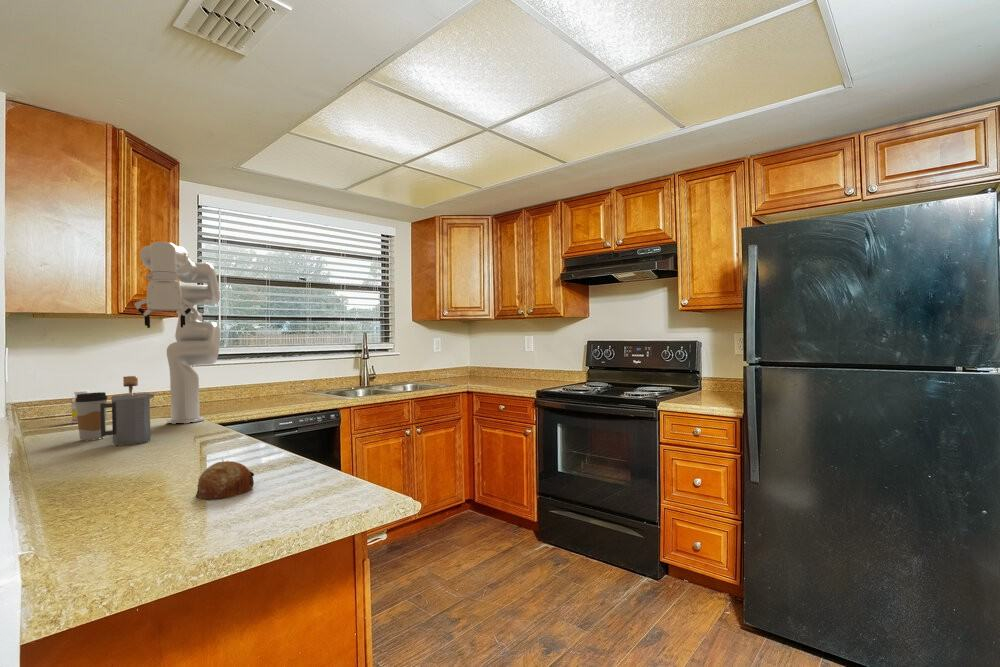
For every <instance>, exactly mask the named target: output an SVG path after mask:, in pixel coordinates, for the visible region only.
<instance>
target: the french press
mask: <svg viewBox="0 0 1000 667" xmlns="http://www.w3.org/2000/svg"><path fill="white" fill-rule="evenodd" d="M153 398H155V393H150V391H148V392H145V391H144V392H143V391H141V392H140V391H138V392H133V394H129V392H128V393H127V392H126V393H118V394H116V393H115V394H112V395H111V402H107V403H100V415H101V437H104V438H105V437H107V436H112V443H113V444H112V445H113V446H114V445H128V446H134V444H136V445H142V444H146V443H145V442H147V443H149V442H150V441H151V435H152V434H151V407H150V406H151V404H150V403H151V401H150V399H153ZM105 408H106V410H105ZM108 408H111V419H112V420H111V424H112V425H111V426H112V429H111V430H107V409H108ZM148 441H149V442H148ZM141 443H142V444H141Z"/></svg>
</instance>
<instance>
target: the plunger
mask: <svg viewBox="0 0 1000 667" xmlns="http://www.w3.org/2000/svg"><path fill="white" fill-rule="evenodd" d="M122 378H123V387H125V388H126V387H127V388H128V393H129V394H133V393H134V389H133V388H134V387H138V385H139V384H138V382H139V381H138V378H139V376H138V375H129V376H126V375H125V376H123V377H122Z"/></svg>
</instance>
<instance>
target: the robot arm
mask: <svg viewBox="0 0 1000 667" xmlns="http://www.w3.org/2000/svg"><path fill="white" fill-rule="evenodd" d="M140 260H141V262H142V264H143V265H144V267H146V268H147V269H149V270H150V273H149V274H145V279H149V280H150V281H148V282H147V290H146V298H144V299H141V300H139V301H136V302H134V303H133V304H134V307H135V308H136V310H137V311H138V312H139V313H140V314H142V316H144V326H146V328H147V329H150V328H151V316H150V314H151V313H152V312H176V313H177V315H178V316H177V317H178V319H177V324H176V328H175V335H174V338H175V341H174V342H172V343H169V345H168V346H167V348H166V357H167V362H168V367H169V378H170V379H169V381H170V384H169V386H170V387H169V388H170V415H171V416H170V417H171V418H169V419H167V420H166V424H167V423H172V424H171V425H177V424H176V423H184V424H191V423H190V422H193V423H198V422H202V421H204V420H205V417H204V416H202V415H201V413H200V412H201V410H200V384H199V383H200V382H199V380H200V378H199V374H198V373H197V371H196V370H195V369H194V368H193V367H192V366H201V365H202V366H204V365H205V366H206V365H213V364H215V363H216V362H217V361H218V358H219V351H220V344H221V334H222V333H221V328H220V325H219V324H218V323H216V322H214V321H203V315H202V314H201V312H199V311H198V310H197V309H196V308H195V307H194V306H212V305H217V304H218V303H219V302H220V300H221V292H220V286H219V282H218V276H217V273H216V270H215V267H214V266H213V265H212V264H211V263H210V262H195V261H194V262H192V261H191V260H190V256H189V253H188V252H187V250H186V249H185V248H184V247H183V246H178V245H175V244H174V243H172V242H167V241H155V242H154V241H153V242H152V243H151V244H150V245H145V246H144V247H142V249H141V250H140ZM180 282H182V283H185V285H184V284H183V285H181V284H180ZM145 304H146V307H147V309H146V310H144V309H143V308H142V307H141V306H142V305H145Z"/></svg>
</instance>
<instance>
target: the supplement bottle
mask: <svg viewBox="0 0 1000 667" xmlns="http://www.w3.org/2000/svg"><path fill="white" fill-rule="evenodd" d="M84 393H90V390H89V389H88V390H78V391H77V390H76V391H74V393H73V394H74V397H73V398H72V399H71V419H72V420H71V422H72V423H73V424H78V420H77V407H76V402H75V400H76V399H75V398H77V394H84Z"/></svg>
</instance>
